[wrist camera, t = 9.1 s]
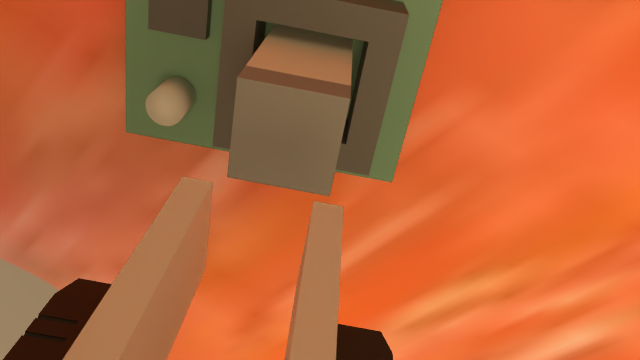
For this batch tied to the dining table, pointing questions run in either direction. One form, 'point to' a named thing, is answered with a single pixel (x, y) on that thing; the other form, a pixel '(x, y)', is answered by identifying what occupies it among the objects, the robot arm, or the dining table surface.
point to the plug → (292, 110)
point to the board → (240, 45)
